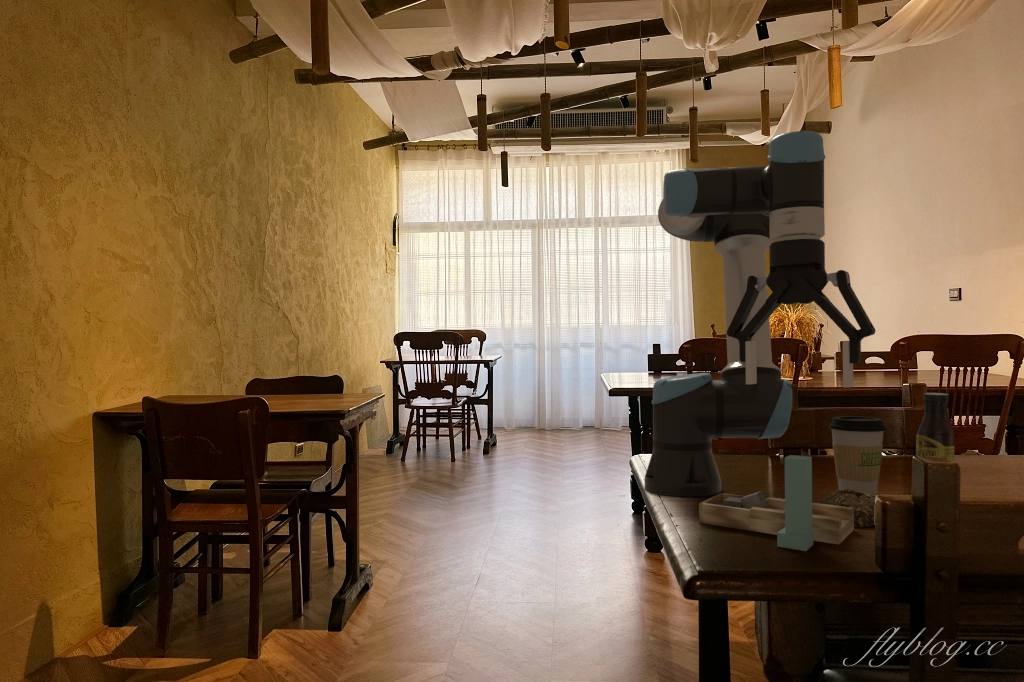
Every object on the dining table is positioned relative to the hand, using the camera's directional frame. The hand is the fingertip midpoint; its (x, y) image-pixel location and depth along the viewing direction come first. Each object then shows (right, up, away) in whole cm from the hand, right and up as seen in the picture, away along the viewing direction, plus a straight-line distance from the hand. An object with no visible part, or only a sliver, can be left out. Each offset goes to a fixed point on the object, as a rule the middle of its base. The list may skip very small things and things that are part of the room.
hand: (797, 385), depth 103 cm
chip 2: (-2, -20, +13) cm, 24 cm away
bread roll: (+16, -24, +16) cm, 33 cm away
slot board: (+1, -24, +11) cm, 26 cm away
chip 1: (-4, -22, +15) cm, 26 cm away
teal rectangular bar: (0, -24, 0) cm, 24 cm away
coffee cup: (+24, -24, +32) cm, 46 cm away
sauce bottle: (+38, -23, +30) cm, 54 cm away
